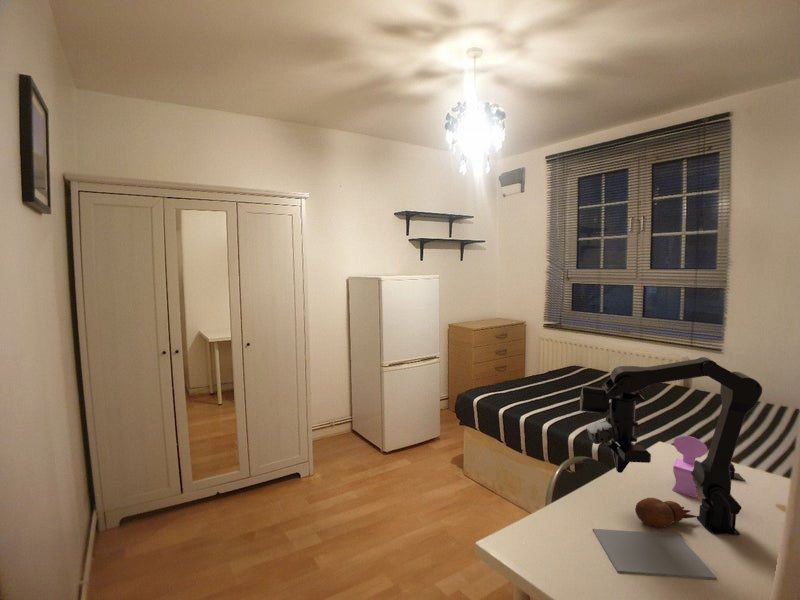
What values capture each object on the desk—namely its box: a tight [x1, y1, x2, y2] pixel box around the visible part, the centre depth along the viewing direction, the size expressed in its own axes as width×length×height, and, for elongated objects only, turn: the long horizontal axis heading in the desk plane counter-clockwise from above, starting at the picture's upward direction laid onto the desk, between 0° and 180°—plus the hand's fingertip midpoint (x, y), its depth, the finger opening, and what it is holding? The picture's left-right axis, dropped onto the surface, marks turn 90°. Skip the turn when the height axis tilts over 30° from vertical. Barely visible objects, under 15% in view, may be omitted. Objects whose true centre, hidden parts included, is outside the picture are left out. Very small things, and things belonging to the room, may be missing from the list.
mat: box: [592, 528, 718, 580], centre depth 93 cm, size 20×14×1 cm
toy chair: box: [671, 435, 709, 499], centre depth 120 cm, size 8×9×15 cm
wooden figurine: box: [635, 497, 698, 528], centre depth 105 cm, size 7×6×15 cm
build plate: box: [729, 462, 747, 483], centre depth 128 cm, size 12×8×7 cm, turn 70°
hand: (619, 472), depth 109 cm, fingers closed
